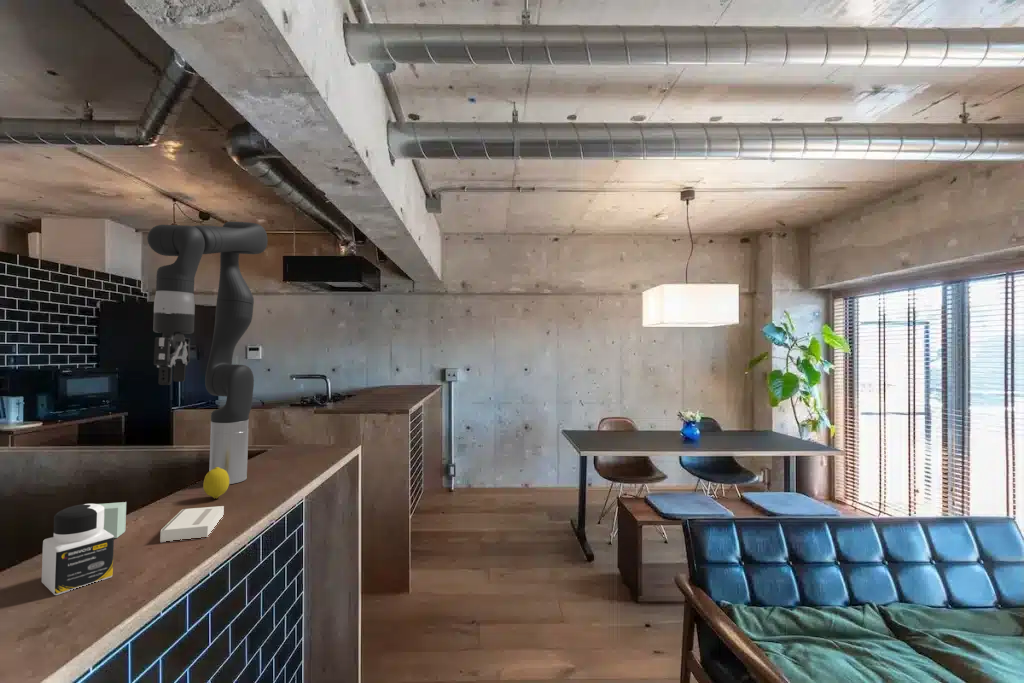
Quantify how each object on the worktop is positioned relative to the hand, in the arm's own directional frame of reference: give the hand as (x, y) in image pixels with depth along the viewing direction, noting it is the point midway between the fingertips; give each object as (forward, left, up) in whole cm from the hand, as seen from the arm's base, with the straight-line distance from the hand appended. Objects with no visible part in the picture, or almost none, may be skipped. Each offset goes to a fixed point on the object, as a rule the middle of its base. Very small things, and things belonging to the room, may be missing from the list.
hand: (172, 383), depth 104 cm
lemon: (-10, +7, -30) cm, 33 cm away
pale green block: (+10, -7, -30) cm, 32 cm away
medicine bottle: (+29, -3, -30) cm, 42 cm away
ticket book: (+10, +8, -30) cm, 33 cm away
